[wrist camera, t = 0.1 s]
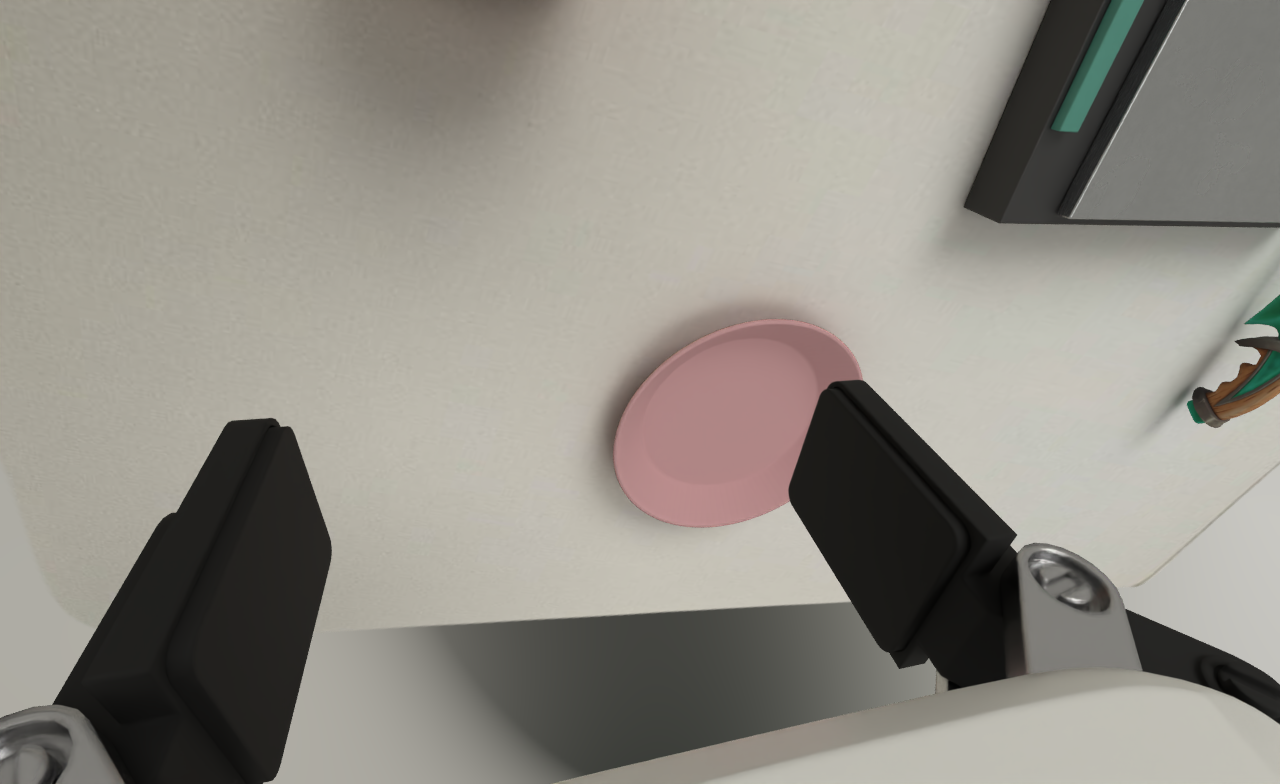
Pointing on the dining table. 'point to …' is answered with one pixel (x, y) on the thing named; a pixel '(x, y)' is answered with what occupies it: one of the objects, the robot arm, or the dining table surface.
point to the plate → (726, 421)
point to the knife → (1244, 378)
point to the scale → (1142, 118)
